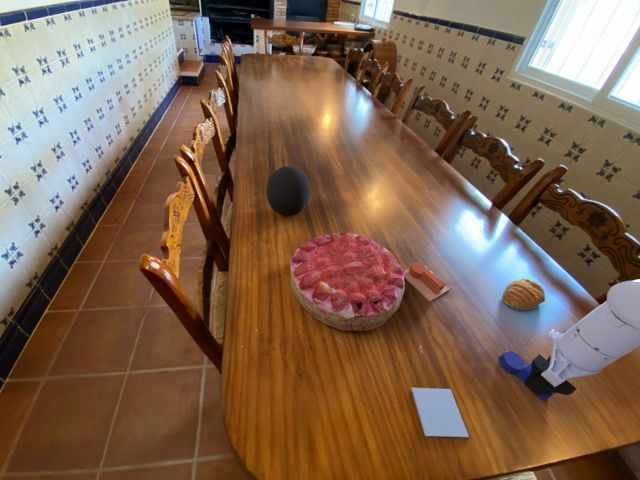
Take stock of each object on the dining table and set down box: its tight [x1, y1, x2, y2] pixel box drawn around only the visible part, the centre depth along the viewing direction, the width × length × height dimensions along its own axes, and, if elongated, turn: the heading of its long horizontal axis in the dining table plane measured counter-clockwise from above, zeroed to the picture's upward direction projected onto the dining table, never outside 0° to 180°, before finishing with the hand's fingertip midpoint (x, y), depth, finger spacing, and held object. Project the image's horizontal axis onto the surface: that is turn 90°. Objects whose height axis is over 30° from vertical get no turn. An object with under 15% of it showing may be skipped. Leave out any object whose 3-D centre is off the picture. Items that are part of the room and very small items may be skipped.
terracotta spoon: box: [408, 261, 447, 295], centre depth 70 cm, size 8×4×3 cm, turn 30°
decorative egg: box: [266, 165, 312, 217], centre depth 83 cm, size 12×12×15 cm
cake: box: [289, 231, 406, 332], centre depth 66 cm, size 25×25×8 cm
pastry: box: [502, 278, 546, 311], centre depth 68 cm, size 9×7×4 cm
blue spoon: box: [498, 350, 556, 402], centre depth 54 cm, size 8×4×3 cm, turn 30°
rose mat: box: [404, 267, 450, 303], centre depth 71 cm, size 9×7×1 cm
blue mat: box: [410, 387, 470, 439], centre depth 49 cm, size 7×7×1 cm
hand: (542, 377), depth 52 cm, fingers open, 7 cm apart
